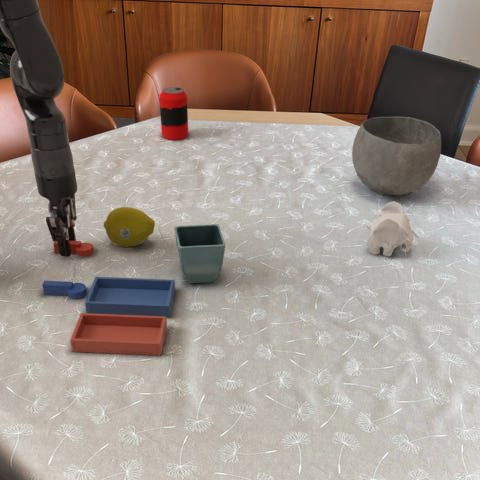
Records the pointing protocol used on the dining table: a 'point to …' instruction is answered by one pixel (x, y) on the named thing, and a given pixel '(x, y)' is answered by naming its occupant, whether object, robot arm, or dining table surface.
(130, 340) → the red tray
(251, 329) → the dining table surface
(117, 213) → the lemon
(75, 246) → the red spoon
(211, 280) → the flower pot
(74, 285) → the blue spoon
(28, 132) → the robot arm
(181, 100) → the soda can
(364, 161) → the bowl
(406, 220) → the elephant figurine
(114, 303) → the blue tray
